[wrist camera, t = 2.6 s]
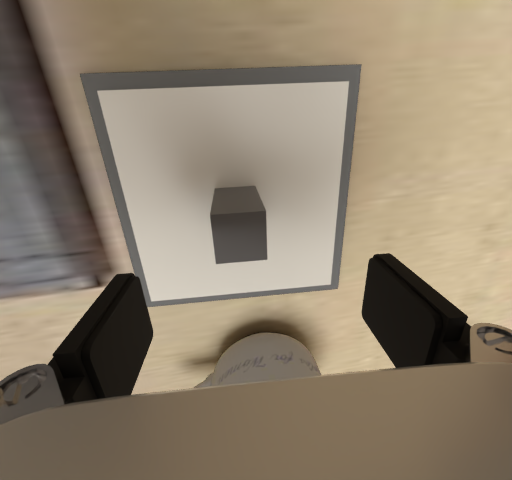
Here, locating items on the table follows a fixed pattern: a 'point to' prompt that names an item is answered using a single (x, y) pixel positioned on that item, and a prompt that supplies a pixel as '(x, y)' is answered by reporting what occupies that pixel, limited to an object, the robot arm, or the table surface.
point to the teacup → (262, 361)
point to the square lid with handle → (230, 183)
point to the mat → (222, 78)
